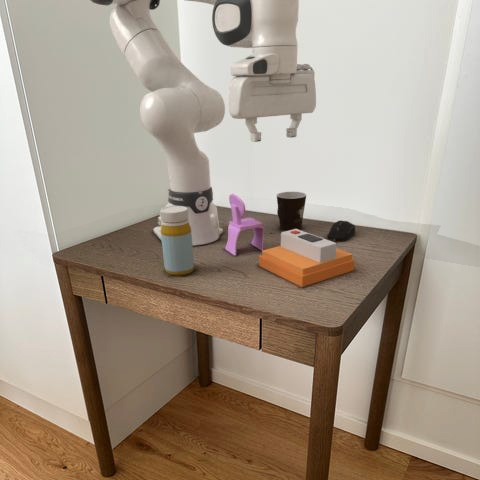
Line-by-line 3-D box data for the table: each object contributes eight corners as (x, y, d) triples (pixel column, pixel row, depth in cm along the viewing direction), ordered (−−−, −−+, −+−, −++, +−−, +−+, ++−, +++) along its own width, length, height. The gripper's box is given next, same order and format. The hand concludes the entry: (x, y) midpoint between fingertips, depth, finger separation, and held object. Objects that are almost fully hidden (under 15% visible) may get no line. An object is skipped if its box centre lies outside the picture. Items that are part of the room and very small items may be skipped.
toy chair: (266, 251, 121) (266, 193, 114) (236, 257, 117) (234, 198, 110) (252, 242, 127) (251, 187, 120) (223, 247, 124) (220, 191, 117)
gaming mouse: (320, 243, 125) (320, 229, 123) (336, 228, 137) (337, 215, 135) (342, 246, 122) (343, 231, 121) (357, 231, 134) (358, 217, 132)
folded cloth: (259, 266, 112) (258, 250, 110) (308, 252, 119) (309, 237, 117) (302, 287, 100) (302, 270, 98) (354, 270, 108) (355, 254, 106)
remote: (280, 246, 112) (280, 231, 110) (295, 242, 114) (296, 227, 112) (320, 263, 101) (320, 246, 100) (335, 258, 104) (336, 241, 102)
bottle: (166, 266, 113) (159, 206, 106) (194, 265, 113) (189, 204, 106) (164, 277, 107) (157, 214, 100) (194, 275, 107) (189, 212, 100)
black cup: (293, 222, 143) (294, 190, 138) (310, 229, 137) (312, 195, 132) (262, 229, 138) (262, 195, 133) (279, 236, 131) (279, 201, 127)
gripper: (304, 64, 97) (301, 133, 104) (222, 65, 88) (225, 142, 94) (324, 63, 93) (321, 136, 99) (241, 64, 83) (243, 145, 90)
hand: (274, 139), depth 97 cm, fingers open, 8 cm apart
